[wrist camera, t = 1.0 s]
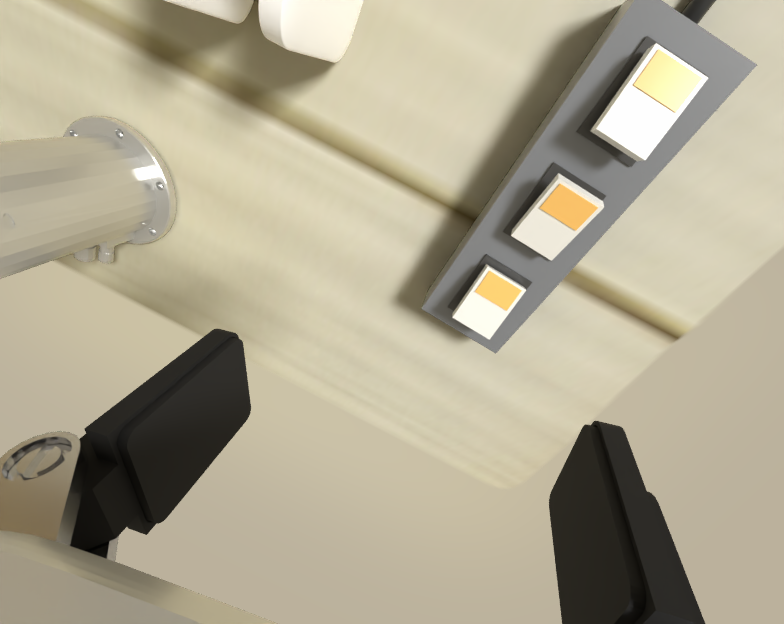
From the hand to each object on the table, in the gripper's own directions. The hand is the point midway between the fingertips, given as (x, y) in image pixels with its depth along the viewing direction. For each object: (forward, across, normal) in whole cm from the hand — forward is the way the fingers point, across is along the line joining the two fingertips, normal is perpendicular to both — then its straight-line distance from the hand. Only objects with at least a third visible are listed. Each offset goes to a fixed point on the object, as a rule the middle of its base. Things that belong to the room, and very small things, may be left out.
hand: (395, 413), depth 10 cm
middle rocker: (+21, -6, -1) cm, 22 cm away
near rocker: (+21, -9, -8) cm, 25 cm away
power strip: (+27, -8, -5) cm, 28 cm away
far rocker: (+21, -3, +6) cm, 22 cm away
